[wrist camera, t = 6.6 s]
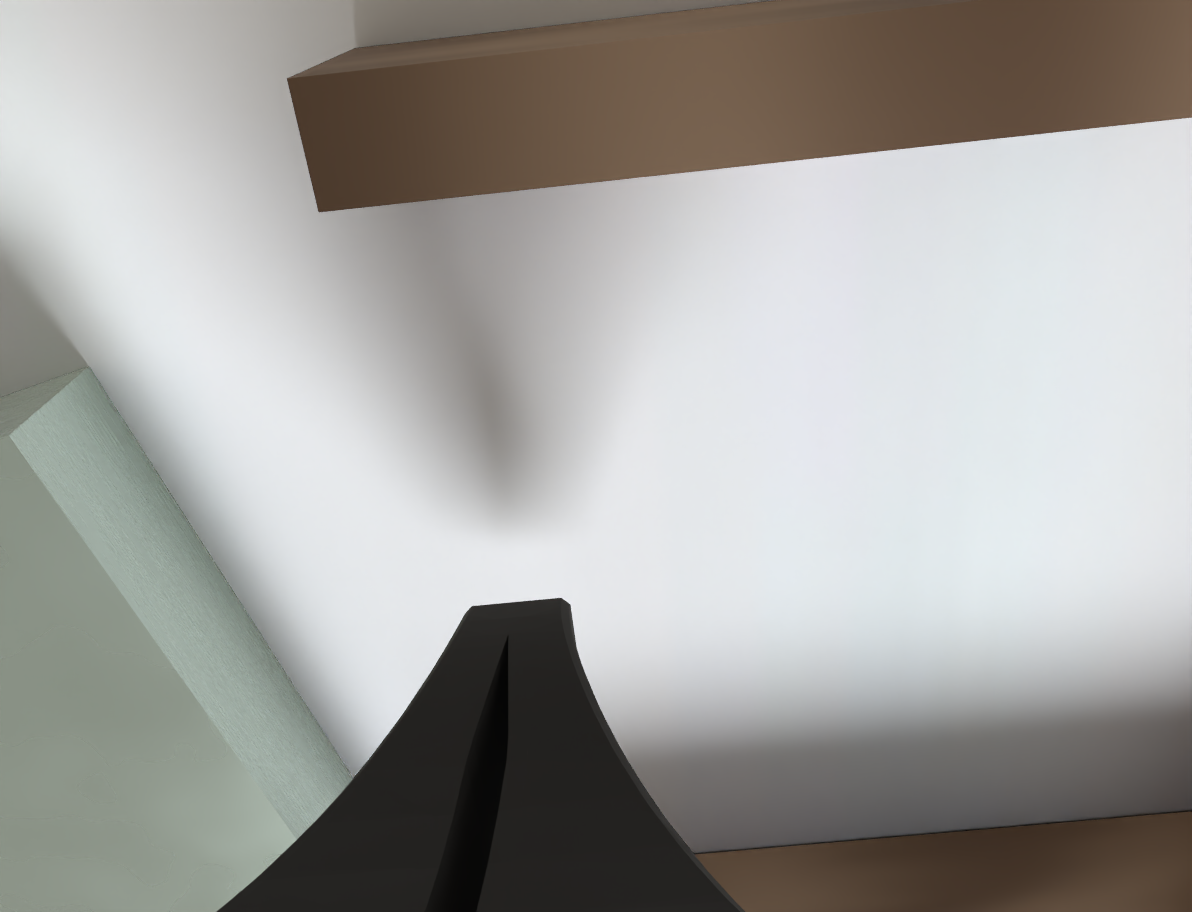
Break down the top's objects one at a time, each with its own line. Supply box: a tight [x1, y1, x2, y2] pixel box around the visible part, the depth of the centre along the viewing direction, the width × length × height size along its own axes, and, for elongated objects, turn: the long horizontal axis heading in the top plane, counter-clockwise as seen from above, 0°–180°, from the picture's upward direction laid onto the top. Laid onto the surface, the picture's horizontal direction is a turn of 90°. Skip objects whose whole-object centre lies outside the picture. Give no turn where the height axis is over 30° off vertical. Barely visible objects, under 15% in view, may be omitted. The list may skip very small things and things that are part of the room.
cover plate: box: [0, 366, 353, 912], centre depth 15 cm, size 6×11×2 cm, turn 19°
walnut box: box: [287, 0, 1192, 912], centre depth 13 cm, size 14×15×3 cm
